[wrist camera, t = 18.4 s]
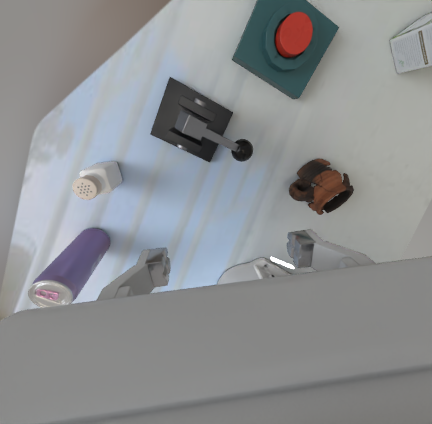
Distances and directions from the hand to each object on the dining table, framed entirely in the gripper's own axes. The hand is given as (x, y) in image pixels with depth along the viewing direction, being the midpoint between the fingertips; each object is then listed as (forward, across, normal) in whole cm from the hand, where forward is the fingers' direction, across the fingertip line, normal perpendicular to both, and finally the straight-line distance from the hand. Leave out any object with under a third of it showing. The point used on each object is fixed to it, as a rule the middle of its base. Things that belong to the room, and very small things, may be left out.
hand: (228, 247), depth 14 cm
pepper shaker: (+27, +18, 0) cm, 32 cm away
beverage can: (+27, +25, +13) cm, 39 cm away
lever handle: (+21, -1, -5) cm, 21 cm away
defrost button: (+23, -13, -17) cm, 32 cm away
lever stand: (+27, +2, -7) cm, 28 cm away
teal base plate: (+27, -13, -17) cm, 34 cm away
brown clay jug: (+28, -20, +6) cm, 35 cm away
